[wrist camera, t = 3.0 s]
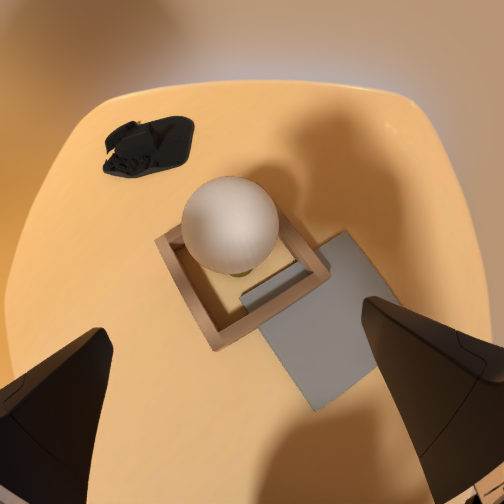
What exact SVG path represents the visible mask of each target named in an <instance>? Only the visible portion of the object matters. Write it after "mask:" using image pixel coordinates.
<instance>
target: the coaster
mask: <svg viewBox="0 0 504 504" xmlns="http://www.w3.org/2000/svg"><path fill="white" fill-rule="evenodd" d="M313 252H314V253H315V254H316V256H317V257H318V258H319V260H320V261H321V262H322V264H323V265H324V266H325V268H326V269H327V270H328V272H329V273H330V274H331V277H330V278H329V280H328V281H327V282H325V283H324V284H322V285H321V286H319V287H318V288H317V289H315V290H314V291H312V292H311V293H309V294H308V295H306V296H305V297H303V298H302V299H300V300H299V301H297V302H296V303H294V304H293V305H291V306H290V307H288V308H287V309H285V310H284V311H282V312H281V313H279V314H277V315H276V316H274V317H273V318H271V319H270V320H268V321H266V322H265V323H263V324H262V325H260V326H258V328H259V330H260V331H261V333H262V335H263V336H264V338H265V339H266V341H267V342H268V344H269V345H270V347H271V348H272V350H273V351H274V353H275V354H276V356H277V357H278V359H279V360H280V362H281V363H282V365H283V366H284V368H285V369H286V371H287V372H288V373H289V375H290V376H291V378H292V379H293V381H294V382H295V384H296V385H297V387H298V388H299V389H300V391H301V392H302V394H303V395H304V397H305V398H306V399H307V401H308V402H309V404H310V405H311V407H312V408H313V409H314V411H315V412H317V411H318V410H320V409H321V408H323V407H324V406H326V405H327V404H329V403H330V402H331V401H333V400H334V399H336V398H337V397H338V396H340V395H341V394H343V393H344V392H345V391H347V390H348V389H349V388H350V387H352V386H353V385H354V384H356V383H357V382H358V381H359V380H361V379H362V378H363V377H364V376H366V375H367V374H368V373H369V372H370V371H372V370H373V369H374V368H375V367H376V366H378V365H377V363H376V361H375V359H374V356H373V354H372V351H371V348H370V345H369V342H368V340H367V337H366V334H365V332H364V329H363V326H362V323H361V313H362V305H363V300H364V298H366V297H370V296H377V297H380V298H382V299H385V300H387V301H389V302H392V303H394V304H396V305H399V306H401V307H402V305H401V304H400V302H399V301H398V300H397V298H396V297H395V295H394V294H393V292H392V291H391V290H390V288H389V287H388V285H387V284H386V283H385V281H384V280H383V279H382V277H381V276H380V274H379V273H378V272H377V270H376V269H375V268H374V266H373V265H372V264H371V262H370V261H369V260H368V258H367V257H366V256H365V255H364V253H363V252H362V251H361V249H360V248H359V247H358V246H357V244H356V243H355V242H354V241H353V239H352V238H351V237H350V236H349V234H348V233H347V232H346V231H344V232H342V233H341V234H339V235H338V236H336V237H335V238H333V239H332V240H330V241H329V242H327V243H325V244H324V245H322V246H321V247H319V248H318V249H316V250H315V251H313ZM308 276H309V274H308V273H307V271H306V270H305V268H304V267H303V266H302V264H301V263H300V262H299V261H298V262H296V263H294V264H293V265H291V266H290V267H288V268H286V269H285V270H283V271H282V272H280V273H279V274H277V275H275V276H274V277H272V278H271V279H269V280H267V281H266V282H264V283H262V284H261V285H259V286H258V287H256V288H254V289H253V290H251V291H249V292H248V293H246V294H245V295H243V296H241V297H240V298H239V299H240V300H241V302H242V304H243V305H244V307H245V308H246V310H247V311H248V313H249V314H250V313H251V312H253V311H255V310H256V309H258V308H259V307H261V306H263V305H264V304H266V303H267V302H269V301H271V300H272V299H274V298H275V297H277V296H278V295H280V294H282V293H283V292H285V291H286V290H288V289H289V288H291V287H292V286H294V285H295V284H297V283H299V282H300V281H302V280H303V279H305V278H306V277H308Z"/></svg>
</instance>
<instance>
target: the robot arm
mask: <svg viewBox="0 0 504 504" xmlns="http://www.w3.org/2000/svg"><path fill="white" fill-rule="evenodd" d="M361 323H362V326H363V329H364V332H365V334H366V337H367V340H368V342H369V345H370V348H371V351H372V354H373V356H374V359H375V361H376V363H377V365H378V367H379V370H380V372H381V374H382V376H383V378H384V380H385V382H386V384H387V386H388V388H389V390H390V393H391V395H392V397H393V399H394V401H395V404H396V406H397V408H398V410H399V412H400V415H401V417H402V419H403V422H404V424H405V426H406V428H407V431H408V433H409V436H410V438H411V440H412V443H413V445H414V448H415V450H416V453H417V455H418V458H420V459H419V461H420V463H421V466H422V469H423V471H424V474H425V477H426V479H427V482H428V485H429V488H430V491H431V493H432V496H433V499H434V502H435V504H444V503H446V502H448V501H450V500H451V499H453V498H455V497H456V496H458V495H459V494H461V493H462V492H464V491H465V490H467V489H468V488H470V487H471V486H474V488H475V490H476V492H477V493H476V494H474V495H473V496H472V497H470V498H469V499H467V500H466V502H465V504H504V348H503V347H500V346H497V345H494V344H491V343H488V342H485V341H482V340H480V339H477V338H474V337H472V336H469V335H467V334H465V333H462V332H460V331H458V330H457V331H456V330H455V329H453V328H451V327H448V326H446V325H444V324H441V323H439V322H437V321H434V320H432V319H429V318H427V317H425V316H422V315H420V314H418V313H415V312H413V311H411V310H408V309H406V308H404V307H401V306H399V305H396V304H394V303H392V302H389V301H387V300H385V299H382V298H380V297H377V296H370V297H366V298H364V300H363V305H362V313H361ZM112 356H113V345H112V343H111V341H110V339H109V337H108V335H107V332H106V330H105V329H104V328H102V327H101V328H92V329H91V330H89V331H88V332H86V333H85V334H83V335H82V336H80V337H79V338H77V339H75V340H74V341H72V342H71V343H69V344H68V345H66V346H65V347H63V348H62V349H60V350H59V351H57V352H56V353H54V354H53V355H51V356H50V357H48V358H47V359H45V360H44V361H42V362H41V363H40V364H38V365H37V366H35V367H34V368H32V369H31V370H29V371H28V372H27V373H25V374H23V375H22V376H20V377H19V378H17V379H16V380H14V381H13V382H11V383H10V384H8V385H7V386H5V387H4V388H2V389H0V504H86V501H87V491H88V481H89V474H90V467H91V460H92V454H93V449H94V443H95V438H96V433H97V428H98V423H99V419H100V414H101V410H102V406H103V402H104V398H105V394H106V390H107V385H108V380H109V373H110V367H111V362H112Z"/></svg>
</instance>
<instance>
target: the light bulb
mask: <svg viewBox="0 0 504 504" xmlns="http://www.w3.org/2000/svg"><path fill="white" fill-rule="evenodd" d="M181 230H182V236H183V240H184V242H185V245H186V247H187V249H188V251H189V252H190V254H191V255H192V256H193V258H194V259H195V260H196V261H197V262H199V263H200V264H201V265H202V266H204V267H206V268H207V269H209V270H212V271H214V272H217V273H223V274H229V275H231V276H234V277H243V276H246V275H247V274H249V273H250V272H251V271H252V269H253V268H255V267H256V266H258V265H259V264H260V263H261V262H263V261H264V260H265V259H266V258H267V256H268V255H269V254H270V253H271V251H272V249H273V247H274V246H275V243H276V240H277V237H278V231H279V219H278V214H277V210H276V207H275V205H274V203H273V201H272V199H271V198H270V196H269V195H268V194H267V193H266V192H265V190H264V189H262V188H261V187H260V186H259V185H257V184H256V183H254V182H252V181H250V180H247V179H245V178H241V177H234V176H226V177H220V178H216V179H213V180H211V181H208V182H207V183H205V184H203V185H202V186H201V187H199V188H198V189H197V190H196V191H195V192H194V193H193V194H192V196H191V197H190V198H189V200H188V202H187V204H186V205H185V208H184V211H183V215H182V221H181Z"/></svg>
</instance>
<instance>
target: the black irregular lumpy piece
mask: <svg viewBox="0 0 504 504" xmlns="http://www.w3.org/2000/svg"><path fill="white" fill-rule="evenodd" d="M193 131H194V124H193V122H192V120H190V119H188V118H186V117H183V116H171V117H167V118H163V119H159V120H155V121H151V122H148V123H144V124H140V125H137V123H136V122H135V121H131V122H128V123H126V124H124V125H122V126H120V127H119V128H117V129H116V130H114V131H113V132H112V133H111V134H110V135H109V136H108V137H107V138H106V140H105V146H106V149H107V154H108V152H109V151H111V150H112V149H114V148H115V150H114V151H115V153H112V156H111V157H110V158H109V160H108V161H107V159H106V161H105V164H104V165H103V171H104V173H107V174H110V175H113V176H119V177H124V178H138V177H142V176H145V175H149V174H152V173H156V172H160V171H164V170H168V169H172V168H175V167H179V166H181V165H183V164H184V163H185V162H186V161H187V160H188V157H189V152H190V147H191V141H192V135H193Z"/></svg>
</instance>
